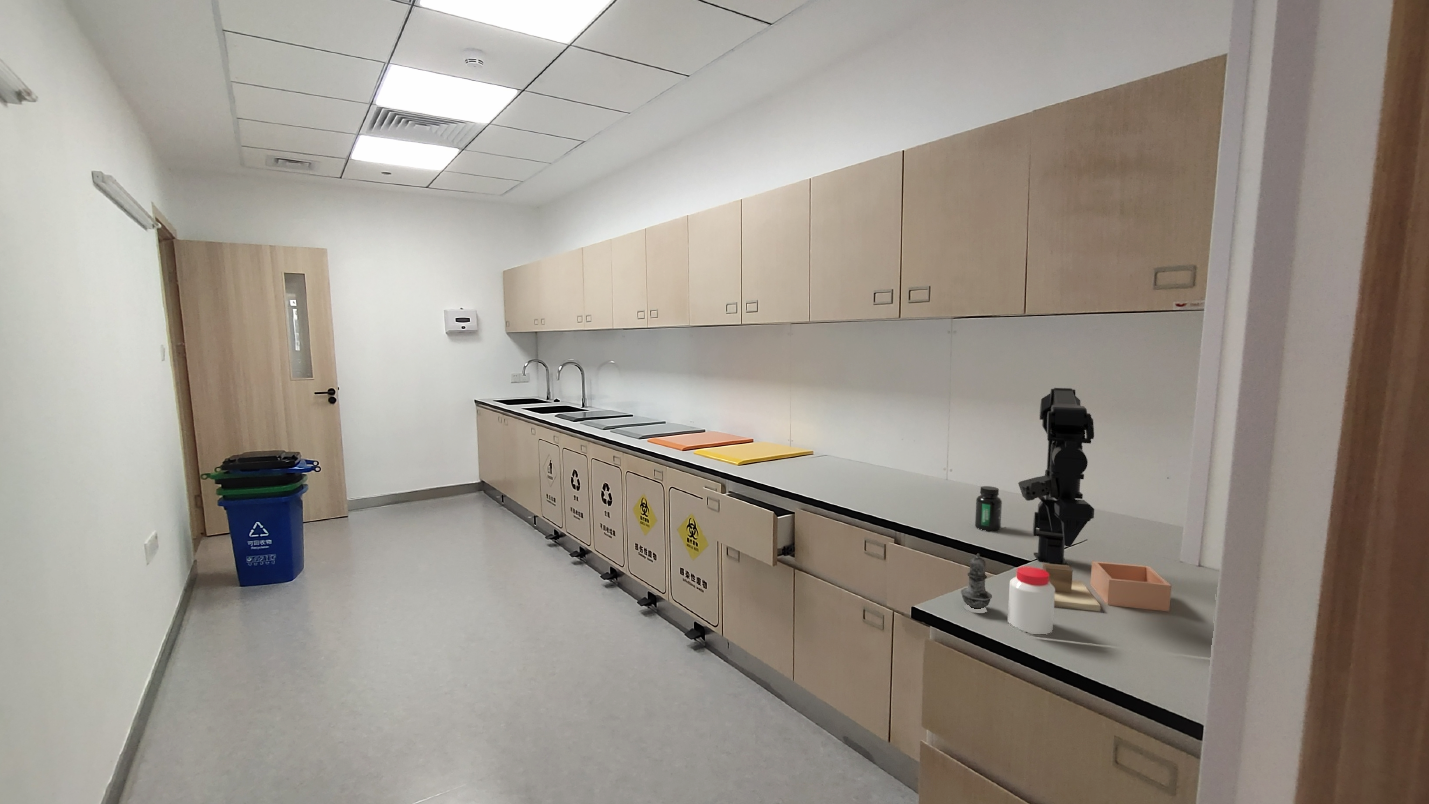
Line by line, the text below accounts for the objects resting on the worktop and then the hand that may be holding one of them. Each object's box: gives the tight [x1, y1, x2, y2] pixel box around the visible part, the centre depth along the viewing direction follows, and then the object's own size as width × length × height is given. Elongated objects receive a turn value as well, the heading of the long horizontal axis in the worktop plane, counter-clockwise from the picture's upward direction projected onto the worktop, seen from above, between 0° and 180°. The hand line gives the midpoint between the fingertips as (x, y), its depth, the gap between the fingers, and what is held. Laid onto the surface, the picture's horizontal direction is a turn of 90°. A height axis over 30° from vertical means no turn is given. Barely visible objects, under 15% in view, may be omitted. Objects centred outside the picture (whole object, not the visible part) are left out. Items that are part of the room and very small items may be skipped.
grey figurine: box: [960, 553, 993, 609], centre depth 125 cm, size 6×6×12 cm
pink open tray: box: [1090, 560, 1172, 612], centre depth 131 cm, size 11×11×6 cm
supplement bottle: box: [974, 485, 1003, 532], centre depth 179 cm, size 7×7×12 cm
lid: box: [1042, 562, 1101, 611], centre depth 132 cm, size 13×13×6 cm
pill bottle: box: [1007, 566, 1055, 635], centre depth 117 cm, size 8×8×11 cm
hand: (1060, 538), depth 131 cm, fingers open, 9 cm apart
